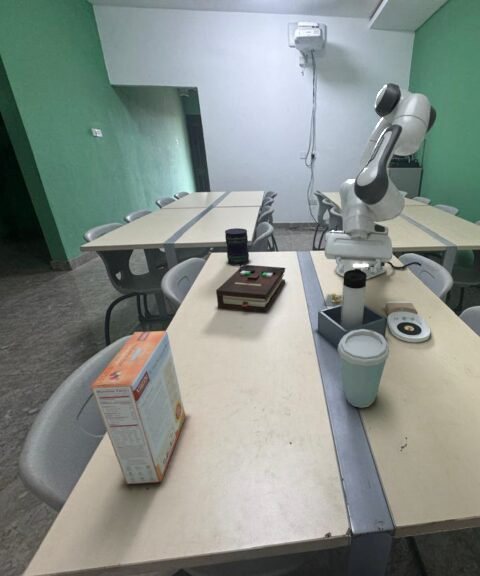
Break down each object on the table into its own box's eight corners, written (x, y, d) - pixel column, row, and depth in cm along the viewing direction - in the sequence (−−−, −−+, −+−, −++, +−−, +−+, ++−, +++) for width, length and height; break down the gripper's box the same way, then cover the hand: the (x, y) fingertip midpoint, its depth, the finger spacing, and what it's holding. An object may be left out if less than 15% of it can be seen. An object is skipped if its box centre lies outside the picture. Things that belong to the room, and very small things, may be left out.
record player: (415, 301, 108) (437, 334, 90) (414, 309, 110) (435, 343, 91) (382, 301, 108) (396, 333, 90) (381, 309, 109) (395, 343, 91)
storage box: (355, 319, 103) (357, 299, 100) (384, 339, 92) (387, 318, 89) (317, 331, 95) (318, 310, 92) (344, 354, 85) (346, 332, 82)
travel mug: (363, 331, 96) (369, 270, 87) (358, 343, 90) (364, 278, 82) (343, 327, 98) (347, 267, 89) (337, 338, 92) (341, 275, 84)
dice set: (332, 297, 117) (332, 292, 116) (345, 299, 116) (346, 294, 115) (329, 303, 112) (329, 298, 111) (344, 305, 111) (344, 300, 111)
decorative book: (208, 290, 102) (242, 260, 129) (211, 311, 105) (244, 277, 132) (266, 295, 99) (289, 263, 126) (267, 316, 102) (289, 281, 130)
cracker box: (156, 418, 64) (134, 329, 55) (187, 417, 64) (169, 329, 56) (122, 486, 51) (87, 385, 42) (161, 484, 52) (134, 383, 43)
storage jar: (238, 267, 143) (235, 234, 136) (223, 262, 147) (219, 231, 141) (253, 261, 150) (251, 230, 144) (239, 257, 155) (236, 227, 149)
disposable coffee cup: (371, 423, 64) (378, 363, 58) (325, 401, 69) (328, 344, 63) (389, 392, 72) (398, 336, 66) (348, 375, 77) (352, 322, 71)
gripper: (325, 224, 96) (321, 266, 91) (393, 228, 94) (393, 270, 89) (325, 235, 101) (322, 274, 97) (390, 238, 100) (390, 279, 95)
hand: (357, 272), depth 93 cm, fingers open, 8 cm apart
